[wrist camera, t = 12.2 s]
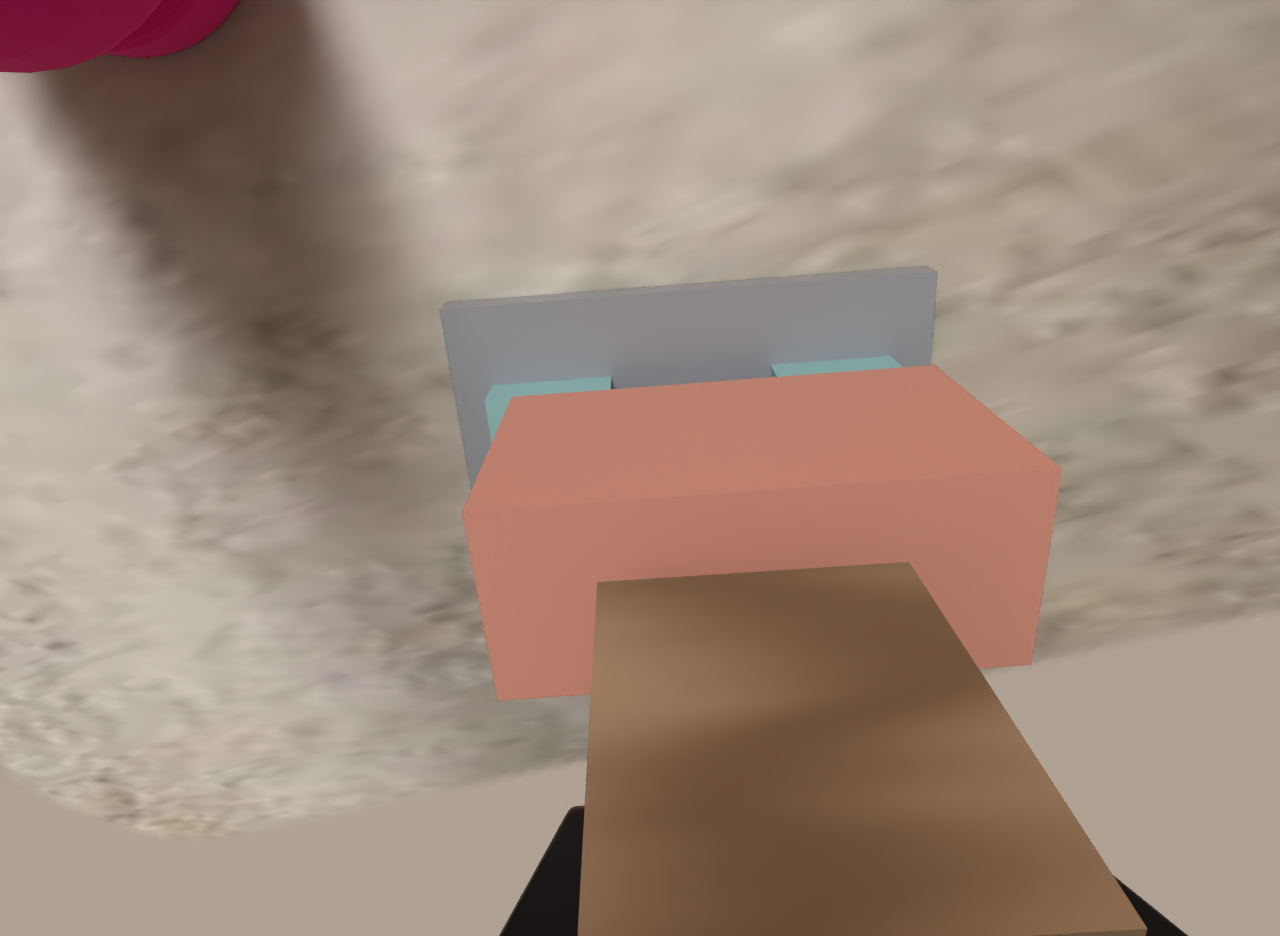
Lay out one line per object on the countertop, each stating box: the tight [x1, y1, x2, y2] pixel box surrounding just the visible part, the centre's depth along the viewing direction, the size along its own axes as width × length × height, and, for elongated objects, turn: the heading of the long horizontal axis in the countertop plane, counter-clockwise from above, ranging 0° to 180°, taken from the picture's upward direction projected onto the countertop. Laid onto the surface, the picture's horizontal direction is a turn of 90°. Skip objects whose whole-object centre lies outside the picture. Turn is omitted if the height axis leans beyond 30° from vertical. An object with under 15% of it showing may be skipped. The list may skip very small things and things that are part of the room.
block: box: [578, 562, 1147, 936], centre depth 9 cm, size 4×4×5 cm
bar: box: [462, 365, 1062, 701], centre depth 17 cm, size 10×4×6 cm, turn 94°
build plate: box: [439, 266, 937, 490], centre depth 20 cm, size 12×8×2 cm, turn 94°
